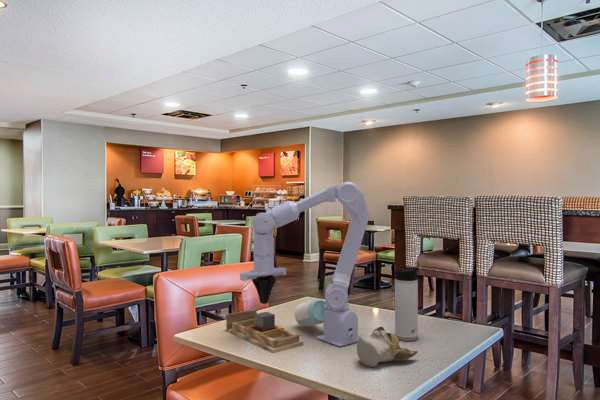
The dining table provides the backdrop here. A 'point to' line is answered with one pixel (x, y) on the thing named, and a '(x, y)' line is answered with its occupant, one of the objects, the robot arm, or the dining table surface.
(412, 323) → the travel mug
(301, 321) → the can
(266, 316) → the grey block
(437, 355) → the dining table surface
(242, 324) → the tray
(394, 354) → the ceramic sculpture
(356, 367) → the dining table surface
